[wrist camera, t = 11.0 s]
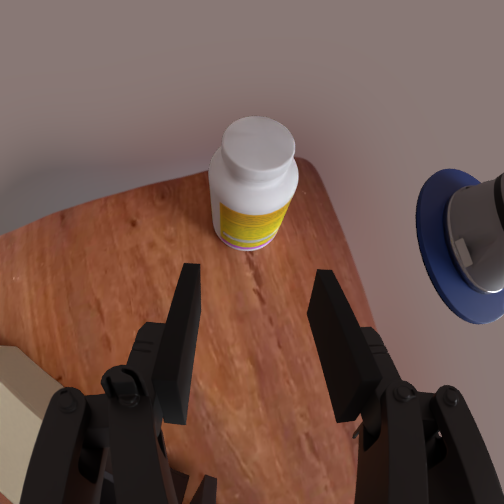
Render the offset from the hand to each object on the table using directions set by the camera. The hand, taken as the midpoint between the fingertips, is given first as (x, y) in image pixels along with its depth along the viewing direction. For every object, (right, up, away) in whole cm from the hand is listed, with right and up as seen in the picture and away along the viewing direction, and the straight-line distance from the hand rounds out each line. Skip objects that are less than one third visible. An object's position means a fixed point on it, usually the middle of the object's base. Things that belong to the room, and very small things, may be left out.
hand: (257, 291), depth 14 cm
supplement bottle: (-1, +5, +16) cm, 17 cm away
